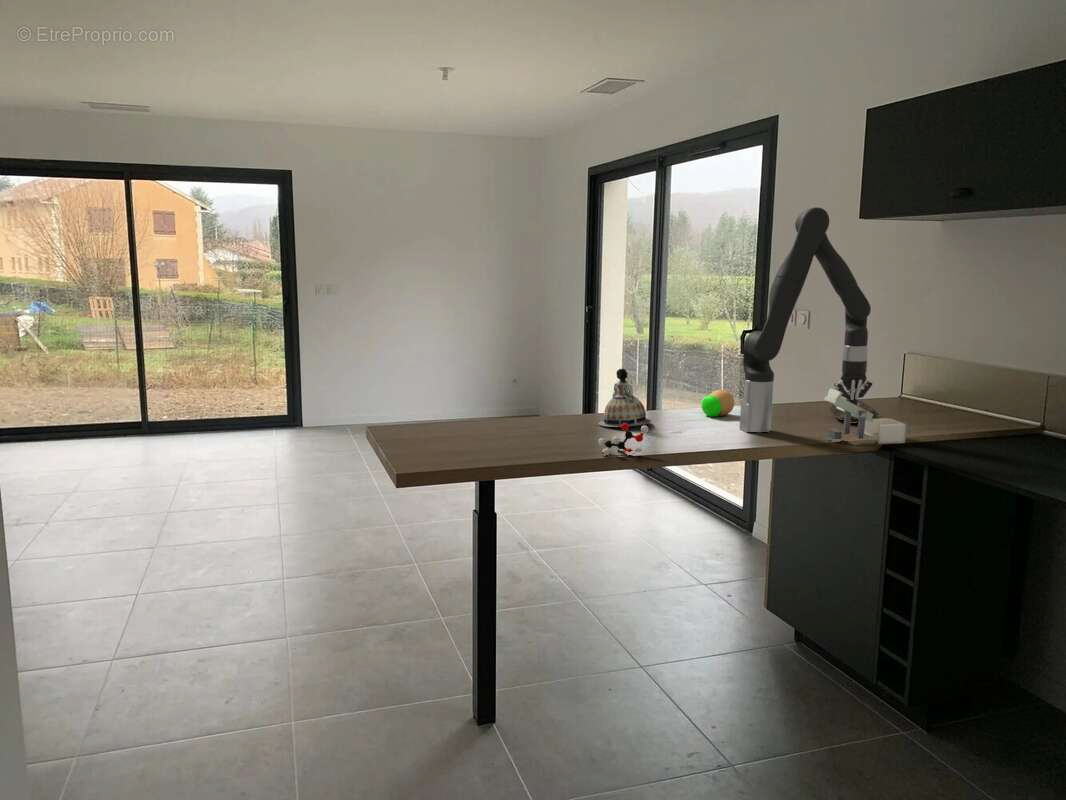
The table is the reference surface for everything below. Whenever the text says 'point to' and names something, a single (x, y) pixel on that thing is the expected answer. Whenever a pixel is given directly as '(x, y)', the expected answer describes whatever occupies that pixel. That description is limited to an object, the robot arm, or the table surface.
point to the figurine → (624, 405)
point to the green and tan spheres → (718, 403)
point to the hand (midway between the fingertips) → (851, 410)
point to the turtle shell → (840, 415)
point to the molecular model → (622, 444)
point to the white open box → (886, 430)
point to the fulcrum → (846, 428)
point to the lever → (845, 404)
